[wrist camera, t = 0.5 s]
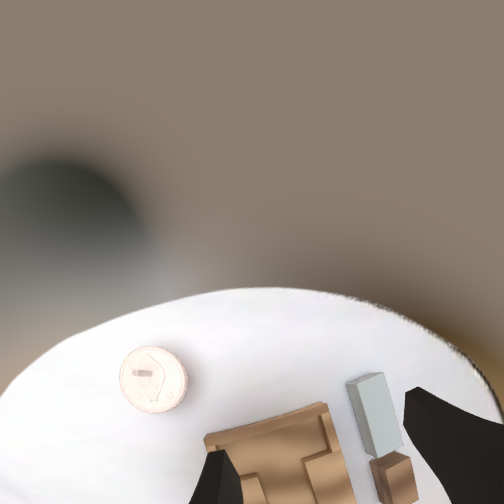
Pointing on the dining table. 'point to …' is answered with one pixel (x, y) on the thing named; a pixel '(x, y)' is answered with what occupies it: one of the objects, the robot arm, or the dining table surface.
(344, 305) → the dining table surface
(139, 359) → the smoothie
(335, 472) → the jig
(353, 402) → the grey square post
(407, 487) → the brown wooden block
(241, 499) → the robot arm
